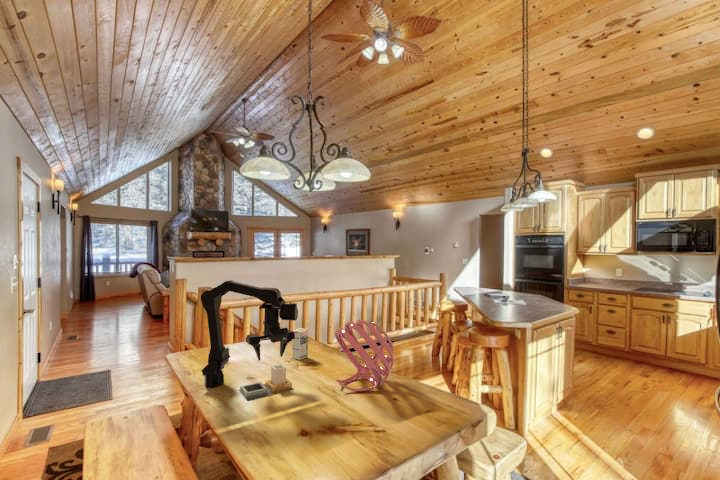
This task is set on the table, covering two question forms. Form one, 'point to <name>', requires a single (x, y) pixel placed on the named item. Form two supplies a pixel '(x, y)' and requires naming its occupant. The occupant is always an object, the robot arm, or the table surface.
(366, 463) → the table surface
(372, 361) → the slotted curved sculpture
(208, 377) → the robot arm
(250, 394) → the panel
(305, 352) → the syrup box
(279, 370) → the plug
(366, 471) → the table surface
